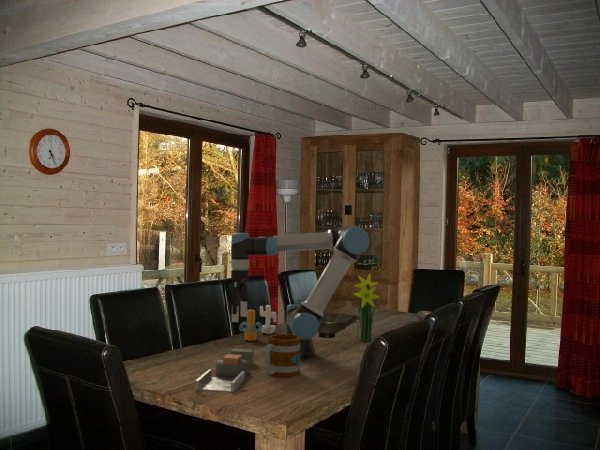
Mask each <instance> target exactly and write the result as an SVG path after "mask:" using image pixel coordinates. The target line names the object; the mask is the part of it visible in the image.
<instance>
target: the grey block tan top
mask: <svg viewBox="0 0 600 450" xmlns="http://www.w3.org/2000/svg"><path fill="white" fill-rule="evenodd" d="M242 371H245V377H247V376H248V375H249V371H250V366H249V362H248V361H246V360H243V359H242V355H233V354H231V353H230V354H225V355H224V356H223V358H222V359H219V360H217V361H216V362H215V376H216V377H221V378H236V377H237V376H238V375H239V374H240V373H241V372H242Z"/></svg>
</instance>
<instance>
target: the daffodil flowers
mask: <svg viewBox="0 0 600 450" xmlns="http://www.w3.org/2000/svg"><path fill="white" fill-rule="evenodd" d="M371 277H372V275H371V272H369V273H368V275H367V278H366V279H365V278H363V277H362V276H360V275H359V274H358V275H357V278H358V279H359V281H360V283H357V284H354V285H353V287H355V288H360V290H359V292H354V293H352V295H353V297H354V298H355V300H356V303H357V307H358V308H357V309H358V321H359V322H358V325H357V335H359V333H360V342H364V343H367V344H368V343H369V342H371V341H372V329H373V319H374V313H375V307H376V303H377V301H378V299H379V298H381V294H379V295H377V294H376V292H377V291H378V290H379V288H377V286H376V285H378V284H379V282H376V281H371V279H372V278H371ZM376 288H377V289H376ZM357 297H359V298H361V300H360V299H359V298H357ZM373 299H375V300H374V301H373ZM359 330H360V331H359ZM356 339H357V340H359V337H357V338H356Z"/></svg>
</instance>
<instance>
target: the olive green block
mask: <svg viewBox="0 0 600 450" xmlns="http://www.w3.org/2000/svg"><path fill="white" fill-rule="evenodd" d="M230 354H233V355H242V359H243V360H246V361H248V362H249V367H251V366H252V365H253V364H255V349H249V348H233V349H231V350H230Z"/></svg>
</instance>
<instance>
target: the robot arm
mask: <svg viewBox="0 0 600 450" xmlns="http://www.w3.org/2000/svg"><path fill="white" fill-rule="evenodd" d="M369 245H370V238H369V235H368V233H367V231H366V230H364V228H362V227H359V226H355V225H353V226H351V225H349V226H343V227H339V228H335V229H328V230H327V231H325V232H308V233H295V234H294V233H293V234H284V235H283V234H282V235H270V236H269V235H267V236H262V235H261V236H257V237H251V236H250V234H249V233H248V232H235V233H232V235H231V242H230V246H231V247H230V248H231V249H230V250H231V253H230V254H231V255H230V256H231V258H230V259H231V260H230V262H229V263H230V265H231V266H230V268H231V270H230V278H231V279H232V280H235V281H232V289H231V297H230V302H229V307H231V323H239V318H240V317H244V318H245V317H246V318H247V310H248V302H250V299H249V292H248V291H249V290H248V280H247V279H249V276H250V270H249V269H250V256H268V257H269V256H276V255H277V253H287V252H299V251H314V250H315V251H316V250H327V249H328V250H329V251H332V252H333V254H332V256H331V258H330V259H329V261H328V263H327V265H326V267H325V268H324V270H323V271H322V273H321V275H320V277H319V278H318V280H317V282H316V283H315V285H314V286H313V288H312V290H311V292H310V293H309V295H308V296H307V299H306V300H305V301H301V302H300V303H299V304H288V305H287V306H286V310H285V311H286V326H285V327H286V328H285V329H286V330H285V331H286V332H285V334H294V335H297V336H301V341H300V353H301V357H300V360H301V359H303V360H304V359H311V358H314V357H315V356H316V348H315V346H314V341H313V338H314V337H315V336H316V335H317V333H318V332H319V328H320V324H321V323H322V320H323V318H324V317H325V315H324V310H325V308H326V307H327V305H328V303H329V302H330V300H331V298H332V297H333V295H334V293H335V291H336V290H337V288H338V287H339V285H340V283H341V281H343V278H344V276H345V275H346V273H347V272H348V269H349V268H350V266H351V265H352V264H353V263H357V261H358V260H359V258H360V257H361V255H362V254H363V253H365V251H367V249H369V248H368V247H369ZM240 300H241V301H240ZM239 301H240V306H239ZM239 307H240V312H239ZM239 313H240V317H239Z"/></svg>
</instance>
